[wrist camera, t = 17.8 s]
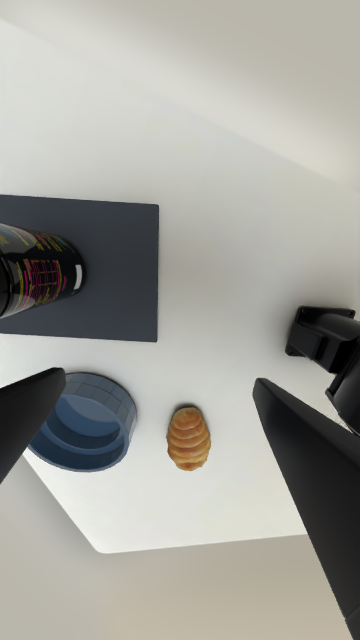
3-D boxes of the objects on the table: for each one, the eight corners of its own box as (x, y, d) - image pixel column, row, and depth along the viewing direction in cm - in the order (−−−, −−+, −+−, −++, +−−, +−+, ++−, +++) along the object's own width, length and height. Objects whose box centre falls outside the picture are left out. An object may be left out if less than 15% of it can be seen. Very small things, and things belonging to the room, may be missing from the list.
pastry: (163, 404, 25) (160, 428, 21) (208, 402, 25) (213, 425, 21) (169, 447, 28) (168, 475, 24) (209, 445, 28) (214, 473, 24)
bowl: (135, 374, 23) (126, 397, 19) (138, 444, 28) (131, 474, 24) (34, 368, 23) (3, 390, 19) (53, 440, 28) (32, 469, 24)
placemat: (158, 206, 17) (158, 204, 16) (157, 340, 22) (156, 342, 21) (-42, 193, 17) (-49, 191, 16) (2, 331, 21) (-2, 333, 21)
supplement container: (22, 227, 17) (-197, 180, 7) (89, 239, 17) (-33, 210, 7) (30, 292, 19) (-129, 324, 9) (90, 302, 20) (-5, 343, 10)
